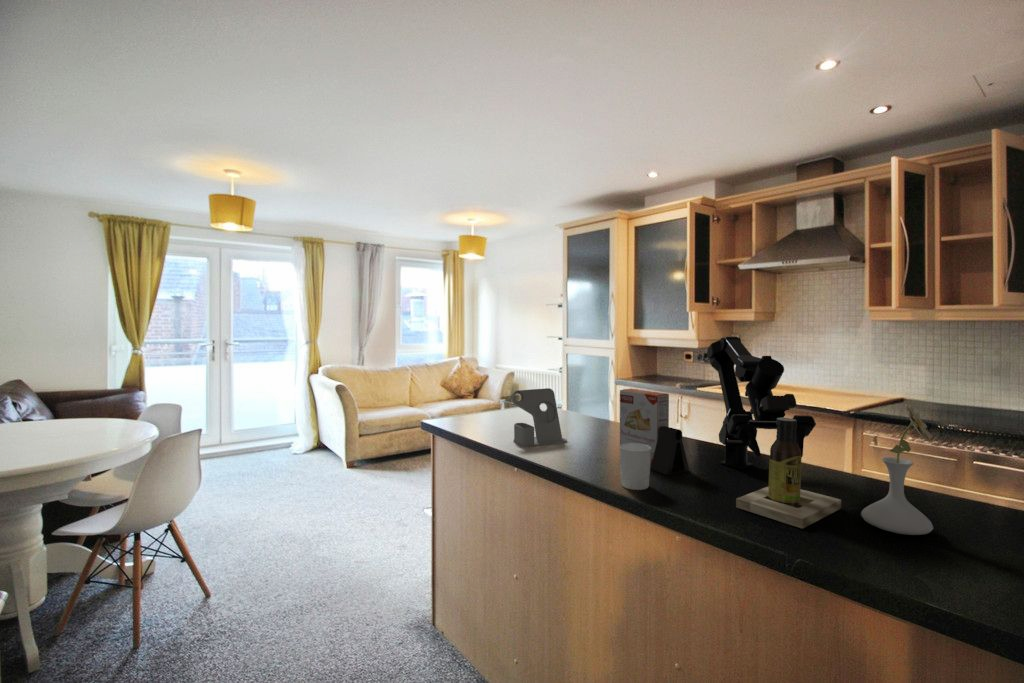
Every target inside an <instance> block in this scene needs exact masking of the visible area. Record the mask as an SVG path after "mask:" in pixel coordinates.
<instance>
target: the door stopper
mask: <svg viewBox="0 0 1024 683" xmlns="http://www.w3.org/2000/svg"><path fill="white" fill-rule="evenodd" d="M650 471H652V472H656V473H658V474H662V475H665V476H672V475H677V474H680V473H681V474H682V473H685V472H689V471H690V468H689V463H688V459H687V455H686V451H685V447H684V444H683V431H682V430H681V429H678V428H673V427H670V426H669V427H666V426H663V427H662V426H660V427H659V429H658V440H657V444H656V448H655V452H654V456H653V460H652V464H651V465H650Z"/></svg>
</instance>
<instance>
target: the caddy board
mask: <svg viewBox="0 0 1024 683" xmlns="http://www.w3.org/2000/svg"><path fill="white" fill-rule="evenodd" d="M735 508H737V509H739V510H740V509H741V510H744V511H746V512H750V513H753V514H755V515H756V514H757V515H758V516H762V517H765V518H768V519H772V520H773V521H774V520H775V521H778V522H781V523H783V524H786V525H790V526H792V527H797V528H798V529H799V528H800V529H805V528H807V527H808V526H810V525H812V524H815V523H816V522H818V521H820V520H822V519H824V518H826V517H828V516H829V515H831V514H833V513H836V512H837V511H839V510H841V509H842V499H840V498H837V497H832V496H828V495H825V494H821V493H817V492H813V491H809V490H806V489H805V490H804V489H801V488H800V502H799V508H796V507H792V506H789V505H786V504H782V503H779V502H775V501H772V500H769V497H768V486H766V487H762V488H760V489H757V490H755V491H753V492H750V493H747V494H744V495H743V496H738V497H737V498H736V499H735Z"/></svg>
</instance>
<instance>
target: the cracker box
mask: <svg viewBox="0 0 1024 683" xmlns="http://www.w3.org/2000/svg"><path fill="white" fill-rule="evenodd" d="M669 399H670V393H665V392H658V391H651V390H645V389H638V388H624V389H620V390H619V446H620V445H621V444H626V443H638V444H644V445H648V446H650V447H651V463H650V466H651V464H652V460H653V456H654V452H655V448H656V444H657V440H658V429H659V427H660V426H662V427H663V426H666V427H670V425H669V424H670V423H669V420H670V418H669V416H670V415H669V414H670V400H669Z"/></svg>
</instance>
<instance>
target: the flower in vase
mask: <svg viewBox="0 0 1024 683" xmlns="http://www.w3.org/2000/svg"><path fill="white" fill-rule="evenodd" d="M905 411H906V414H907V416H908V418H909V419H910V423H909V425H908V426H907V427H906V428H905V430H904V431H903V433H902V435H901V437H900V440H899V443H898V444H896V445H895V446H894V447H893V448H892V449H890V450H889V452H892V453H895V454H897V455H896V457H893V456H891V457H890V456H885V457H882V458H881V460H882V461H883V463H884V464H885V466H886V468H887V471H888V477H889V488H888V489H889V490H888V493H887V495H886V496H885V497H884V498H882V499H879V500H877V501H875V502H873V503H870V504H869V505H867V506H866V507H864V508H862V510H861V512H860V516H861V518H862V519H863V520H864V521H865V522H866V523H867V524H870V525H871V526H874V527H876V528H878V529H880V530H883V531H887V532H889V533H893V534H897V535H898V534H900V535H909V536H921V535H928V534H930V533H931V532H932V531H933V529H934V526H933V523H932V521H930V519H929V518H928V517H927V516H926V515H925V514H923V513H922V512H921V511H920V510H919V509H917V508H916V507H915V506H914V505H912V504H911V502H909V500H907V497H906V495H905V479H906V477H907V472H908V471H909V469H910V468H911V466H913V465H914V462H913V461H912V460H909V459H906V458H901V457H900V454H901V453H904V452H907V453H909V452H911V450H912V448H911V447H910V444H909V442H908V441H907V440H906V439H904V438H905V436H906V435H907V433H908V431H909V430H910V428H911V427H914V428H915V430H916V431H917V432H918V434H919V435H920V437H921V438H922V439H924V440H925V441H927V442H931V441H932V434H931V433H930V432H929V431H928V430H927V428H928V426H927V424H926V423H925V422H923V421H922V418H921V415H920V413H919V411H916V412H915V410H914V406H913V405H912V404H911V403H906V404H905Z"/></svg>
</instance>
